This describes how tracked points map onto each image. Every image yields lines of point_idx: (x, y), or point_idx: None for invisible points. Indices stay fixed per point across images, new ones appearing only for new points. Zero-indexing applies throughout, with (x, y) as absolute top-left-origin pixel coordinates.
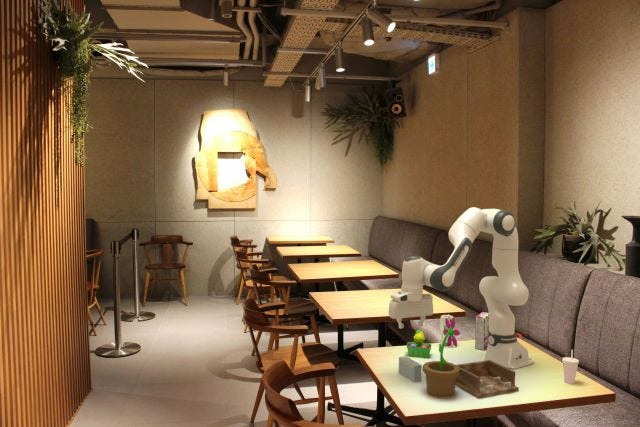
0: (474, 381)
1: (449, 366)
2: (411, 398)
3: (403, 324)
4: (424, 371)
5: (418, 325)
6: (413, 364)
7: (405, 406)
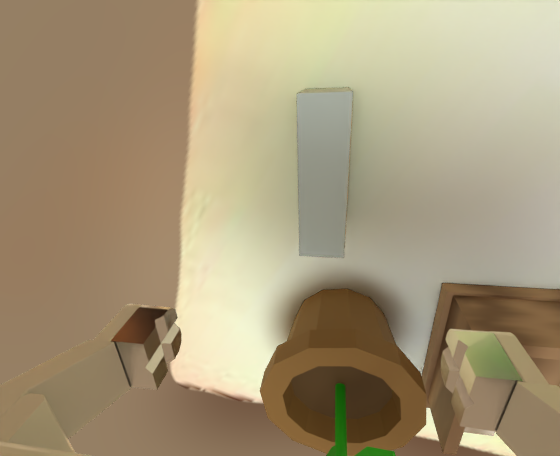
0: (440, 422)
1: (397, 398)
2: (224, 319)
3: (150, 387)
4: (263, 377)
5: (448, 345)
6: (307, 237)
7: (185, 347)
